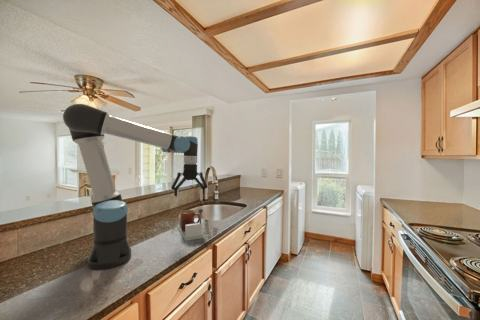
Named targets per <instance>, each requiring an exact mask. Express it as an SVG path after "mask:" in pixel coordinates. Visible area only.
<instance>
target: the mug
mask: <svg viewBox="0 0 480 320" xmlns="http://www.w3.org/2000/svg"><path fill="white" fill-rule="evenodd" d="M179 215H180V216H181V230H182V231H185V225H187V224H195V223H199V222H200V213H199V212H198V213H197V212H196V210H193V209H183V210H181V211H179ZM195 216H197V218H198V219H197V221H195Z"/></svg>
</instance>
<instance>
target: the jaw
mask: <svg viewBox="0 0 480 320" xmlns="http://www.w3.org/2000/svg"><path fill="white" fill-rule="evenodd" d="M178 225H179V226H180V225H181V216H180V214H179V215H178Z"/></svg>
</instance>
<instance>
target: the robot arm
mask: <svg viewBox="0 0 480 320" xmlns="http://www.w3.org/2000/svg"><path fill="white" fill-rule="evenodd" d="M63 111H64V112H63V113H62V114H63V115H62V118H63V119H62V120H63V122H64V124H65V126H67V128H68V130H69V133H70V136H71V139H72V142H73V143H75V144H77V145H78V147H79V151H80V154H81V157H82V161H83V164H84V167H85V171H86V175H87V177H88V180H89V184H90V188H91V190H92V194H93V198H92V199H91V201H90V202H91V205H92V208H93V211H92V216H93V221H92V222H93V238H92V239H93V241H92V242H93V244H92V247H91V250H90V252H89V254H88V257H87V267H88V268H89V269H91V270H96V271H97V270H106V269H112V268H116V267H118V266H121V265H123V264H125V263H127V262H128V261H129V260H131V258H132V249H131V246H130V243H129V241H128V212H129V210H128V205H127V203H126V202H125V201H123V198H122V194H121V192H119V191H117V190H116V185H115V184H114V180H113V175H112V172H111V169H110V165H109V162H108V159H107V155H106V152H105V151H106V150H105V148H104V144H103V140H104V138H105V134H106V135H110V136H114V137H117V138H122V139H126V140H128V141H129V140H130V141H132V142H133V141H135V142H138V143H142V144H146V145H149V146H152V147H153V146H154V147H157V148H160V149H161V151H162V152H163V153H172V154H173V153H175V154H176V153H177V154H183V170H182V172H179V171H178V172H177V175H176V178H175V179H174V181H173V183H172V185H171V187H170V188H171V190H173V191H174V194H173V195H174V197H175V198H176V199H175V202H176V203H179V199H180V198H179V197H180V196H179V195H180V192H179V191H180V190H179V189H180V187H181V186H182V185H183V184H185V182H186V181H195V182H196V183H197V185H198V186H199V187H200V188H199V200H200V201H201V202H202V201H203V199H204V198H203V197H204V195H205V189H207V188H208V185H207V183H206V182H207V181H206V180H205V178H204V175H203V171H198V149H199V148H198V146H199V142H198V141H199V140H198V137H197V136H194V135H193V136H191V135H185V136H182V135H176V134H172V133H169V132H166V131H162V130H159V129H156V128H152V127H150V126H145V125H143V124H139V123H136V122H132V121H130V120H126V119H123V118H120V117H116V116H113V115H110V113H109V112H108V111H104V110H102V109H99V108H96V107H94V106H91V105H89V104H84V103H75V104H71V105H69V106H68V107H66V109H65V110H63ZM182 176H183V178H182V179H180V178H181V177H182ZM197 176H199V177H200V180H201V181H200V180H199V178H198V177H197ZM179 180H180V181H179ZM178 182H179V183H178Z"/></svg>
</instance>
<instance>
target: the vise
mask: <svg viewBox="0 0 480 320" xmlns="http://www.w3.org/2000/svg"><path fill="white" fill-rule="evenodd" d="M203 212H204V211H203V209H202V208H199V209H198V214H200V221H199V223H195V224H187V225H185V231H182V230H181V225H180V226H179V224H177V225H176V226H177V227H176V228H177V229H178V232H179V233H180V235H181V236H182V238H183V239H184V242H188V241H192V240H198V239H199V240H200V239H203V238H204V234H203V223H202V213H203Z"/></svg>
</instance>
